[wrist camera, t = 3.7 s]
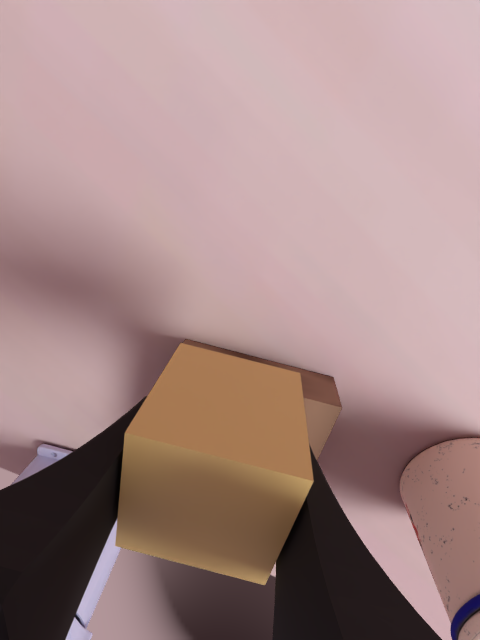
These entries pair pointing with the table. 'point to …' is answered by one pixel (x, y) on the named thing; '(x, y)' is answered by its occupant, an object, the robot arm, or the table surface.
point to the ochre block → (216, 465)
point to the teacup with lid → (449, 525)
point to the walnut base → (304, 397)
